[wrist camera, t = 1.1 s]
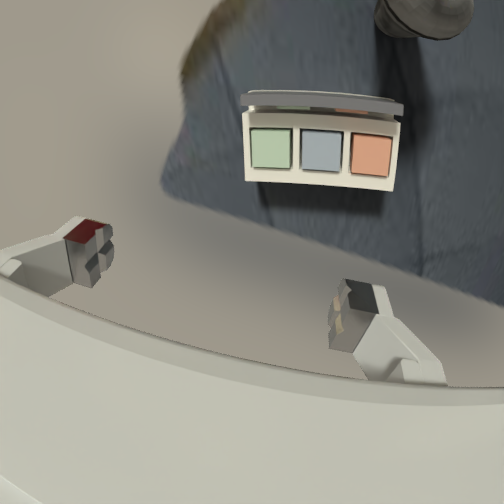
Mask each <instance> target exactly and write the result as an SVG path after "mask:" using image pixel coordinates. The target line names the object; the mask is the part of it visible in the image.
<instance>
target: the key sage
mask: <svg viewBox="0 0 504 504" xmlns="http://www.w3.org/2000/svg"><path fill="white" fill-rule="evenodd" d="M251 139H252V166H253V167H276V168H290V165H291V128H254V129H253V130H252V131H251Z"/></svg>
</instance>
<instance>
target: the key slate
mask: <svg viewBox="0 0 504 504" xmlns="http://www.w3.org/2000/svg"><path fill="white" fill-rule="evenodd" d="M340 152H341V133H340V131H331V130H316V129H303V132H302V169H314V170H328V171H339V168H340Z"/></svg>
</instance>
